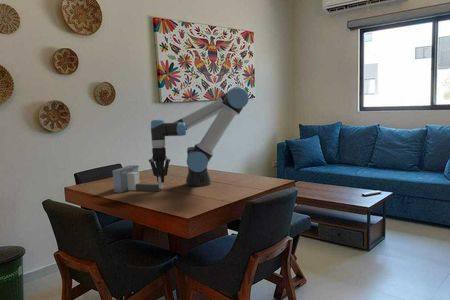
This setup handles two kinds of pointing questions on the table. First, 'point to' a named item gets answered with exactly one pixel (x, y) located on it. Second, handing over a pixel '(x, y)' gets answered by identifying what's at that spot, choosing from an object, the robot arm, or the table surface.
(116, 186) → the housing
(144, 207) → the table surface
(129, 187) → the plug
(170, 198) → the table surface
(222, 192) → the table surface
